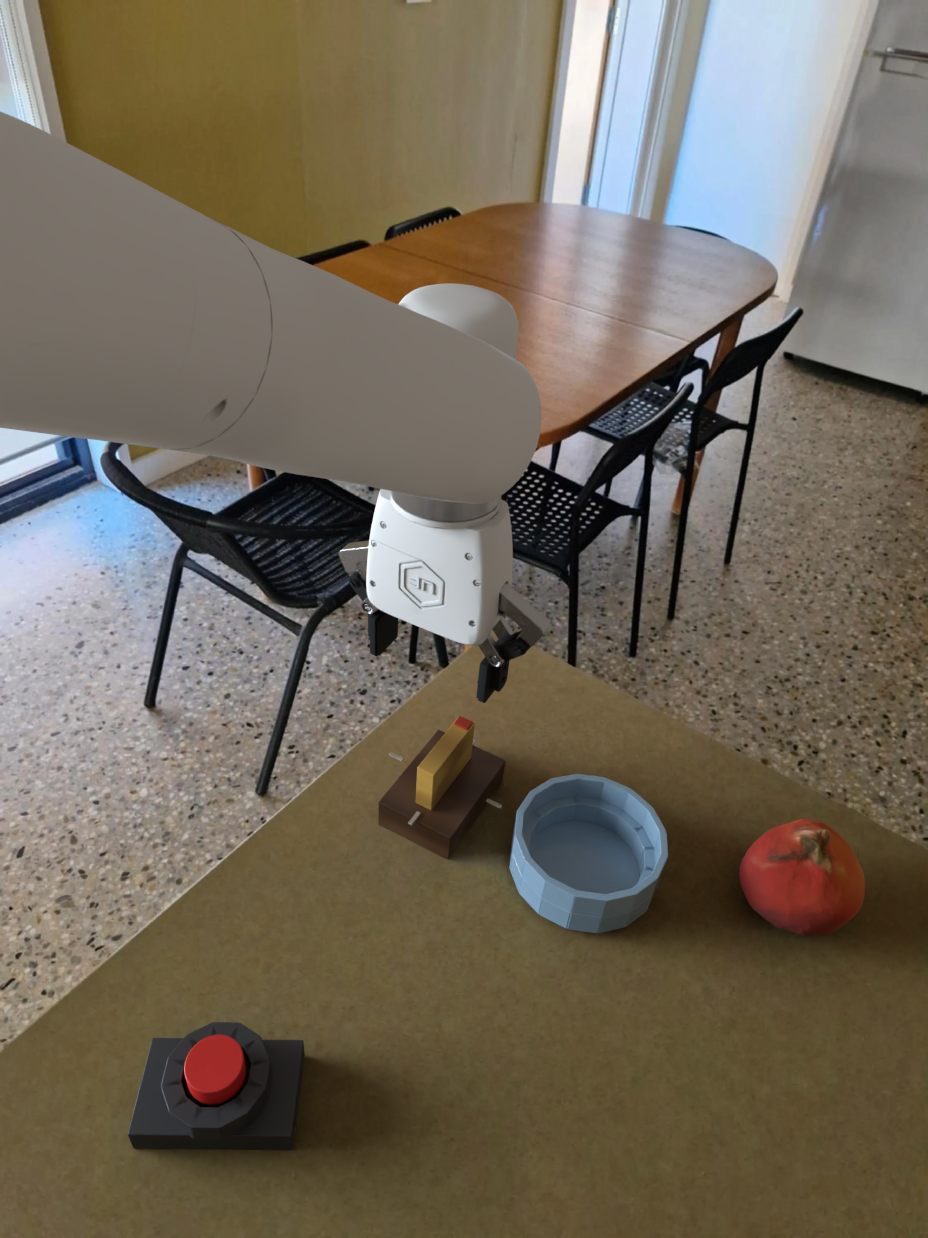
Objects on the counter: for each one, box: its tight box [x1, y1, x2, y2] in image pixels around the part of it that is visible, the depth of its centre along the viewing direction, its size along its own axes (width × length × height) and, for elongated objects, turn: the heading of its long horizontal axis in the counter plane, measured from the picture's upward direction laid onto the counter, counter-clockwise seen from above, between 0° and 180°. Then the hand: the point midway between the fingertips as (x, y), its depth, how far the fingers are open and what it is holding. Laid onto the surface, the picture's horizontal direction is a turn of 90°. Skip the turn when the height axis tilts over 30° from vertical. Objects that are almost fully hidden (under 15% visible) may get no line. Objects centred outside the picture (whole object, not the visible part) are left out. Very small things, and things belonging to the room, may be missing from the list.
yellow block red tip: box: [416, 715, 476, 810], centre depth 75 cm, size 7×2×5 cm, turn 151°
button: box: [184, 1035, 246, 1105], centre depth 56 cm, size 4×4×2 cm
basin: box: [508, 773, 669, 934], centre depth 73 cm, size 12×12×5 cm
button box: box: [127, 1021, 306, 1151], centre depth 57 cm, size 10×6×4 cm, turn 91°
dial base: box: [377, 729, 506, 861], centre depth 78 cm, size 11×11×3 cm
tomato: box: [738, 818, 866, 937], centre depth 71 cm, size 9×9×8 cm
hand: (435, 668), depth 70 cm, fingers open, 9 cm apart
